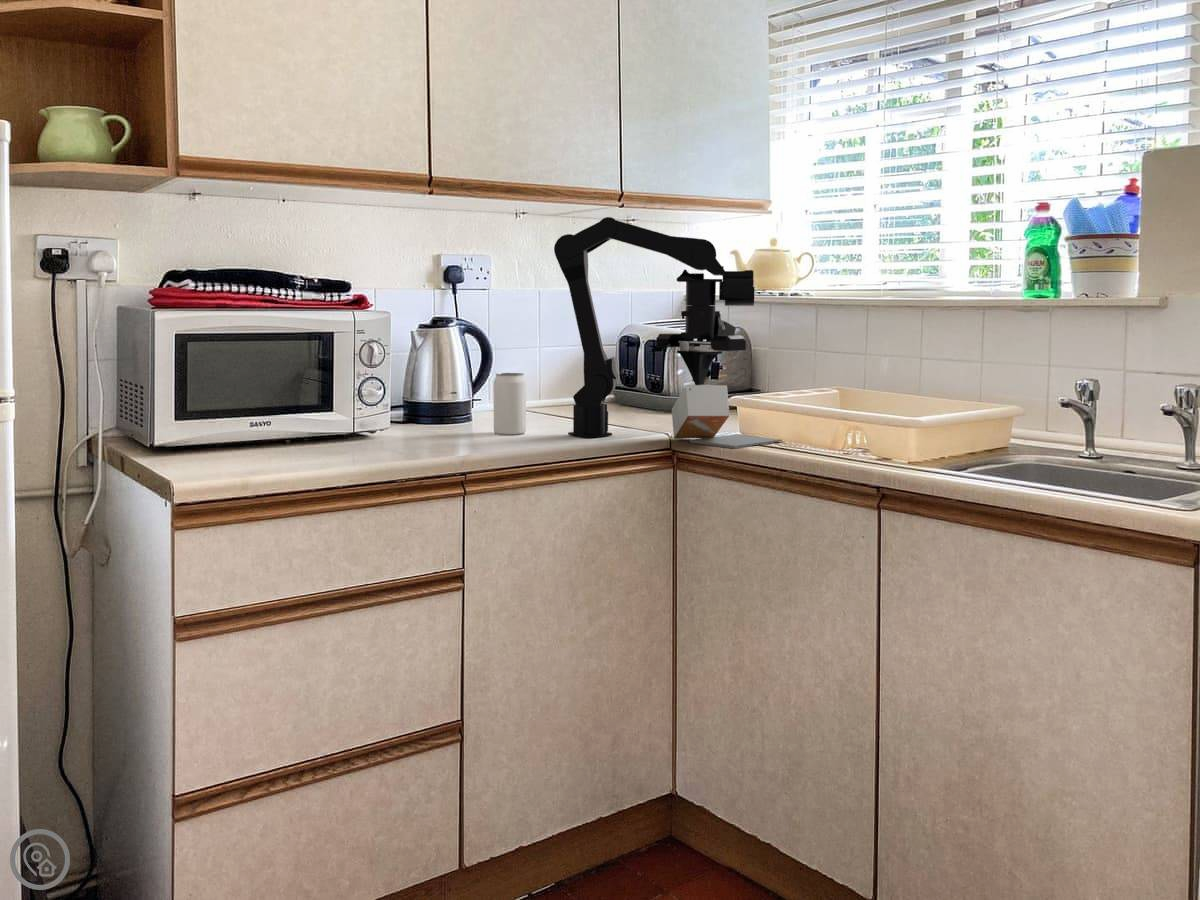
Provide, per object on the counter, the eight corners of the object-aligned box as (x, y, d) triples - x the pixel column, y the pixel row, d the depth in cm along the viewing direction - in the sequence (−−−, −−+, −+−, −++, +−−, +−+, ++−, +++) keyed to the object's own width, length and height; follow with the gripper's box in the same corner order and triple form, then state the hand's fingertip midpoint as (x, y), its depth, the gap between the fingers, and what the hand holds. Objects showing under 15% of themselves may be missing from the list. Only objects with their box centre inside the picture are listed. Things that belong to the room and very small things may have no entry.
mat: (734, 448, 195) (734, 445, 195) (690, 442, 203) (690, 439, 203) (782, 442, 204) (782, 439, 204) (737, 436, 212) (737, 434, 212)
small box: (673, 439, 208) (687, 416, 195) (671, 409, 210) (684, 384, 197) (714, 439, 209) (730, 416, 196) (711, 409, 211) (727, 384, 198)
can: (532, 433, 215) (532, 373, 213) (508, 436, 210) (508, 375, 208) (511, 430, 219) (510, 372, 217) (487, 433, 214) (486, 373, 213)
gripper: (765, 306, 205) (763, 387, 207) (692, 305, 218) (691, 381, 220) (727, 306, 197) (725, 390, 199) (654, 305, 211) (653, 384, 213)
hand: (699, 386), depth 208 cm, fingers closed
